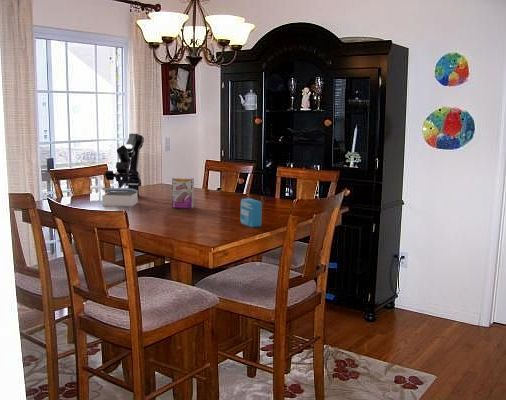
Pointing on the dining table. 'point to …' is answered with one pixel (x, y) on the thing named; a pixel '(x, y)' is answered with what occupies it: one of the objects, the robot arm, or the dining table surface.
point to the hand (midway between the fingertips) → (119, 187)
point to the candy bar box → (182, 192)
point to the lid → (120, 189)
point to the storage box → (119, 199)
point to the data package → (251, 212)
